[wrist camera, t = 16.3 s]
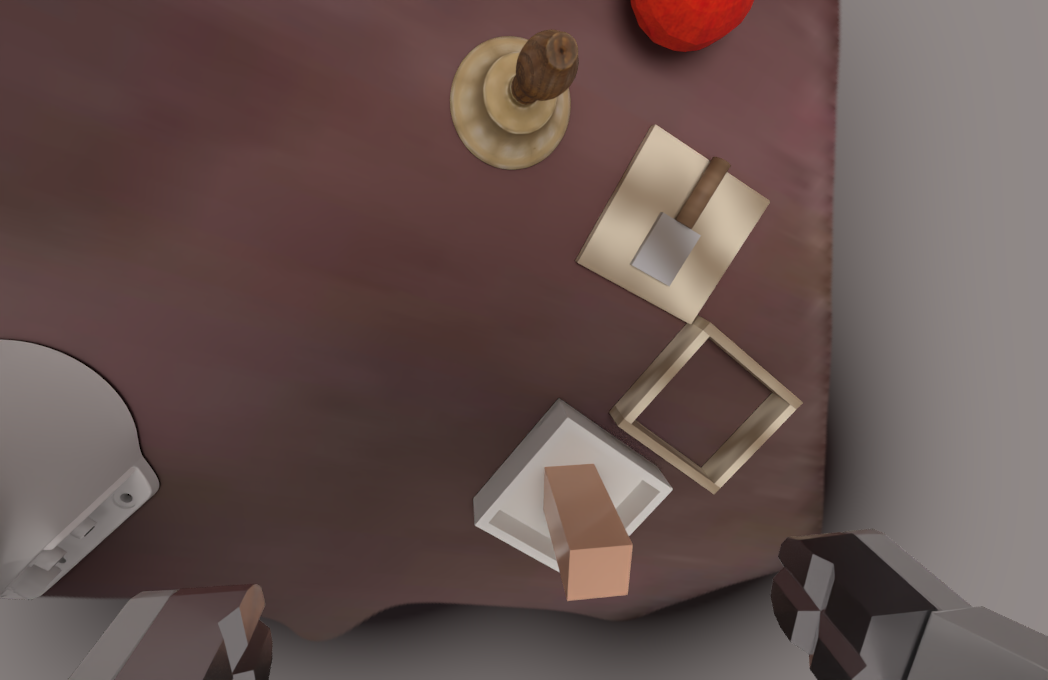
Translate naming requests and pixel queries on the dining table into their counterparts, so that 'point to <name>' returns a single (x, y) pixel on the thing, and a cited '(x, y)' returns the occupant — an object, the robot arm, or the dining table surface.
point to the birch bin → (745, 436)
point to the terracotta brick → (586, 533)
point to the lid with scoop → (672, 225)
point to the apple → (689, 21)
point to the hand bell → (515, 97)
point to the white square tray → (559, 441)
